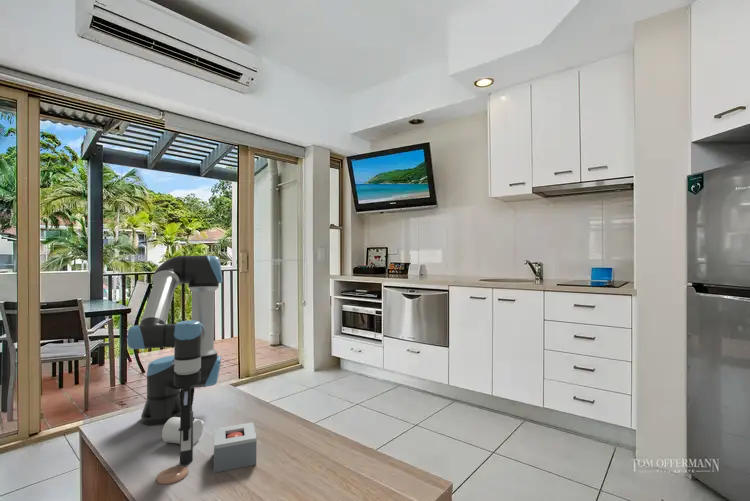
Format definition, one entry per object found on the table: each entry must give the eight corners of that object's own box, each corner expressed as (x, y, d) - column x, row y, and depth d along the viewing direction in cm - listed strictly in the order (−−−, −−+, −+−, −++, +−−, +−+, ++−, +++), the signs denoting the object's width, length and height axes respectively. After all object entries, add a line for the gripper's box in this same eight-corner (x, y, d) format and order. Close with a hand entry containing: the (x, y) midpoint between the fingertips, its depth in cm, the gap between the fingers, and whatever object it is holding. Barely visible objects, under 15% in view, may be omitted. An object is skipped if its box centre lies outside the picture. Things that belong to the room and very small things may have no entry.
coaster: (158, 471, 110) (159, 469, 110) (189, 465, 113) (189, 463, 113) (154, 487, 102) (154, 484, 102) (186, 480, 106) (187, 478, 106)
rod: (180, 459, 116) (180, 411, 117) (192, 457, 118) (193, 409, 118) (179, 465, 113) (179, 416, 113) (192, 463, 114) (192, 414, 115)
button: (226, 443, 118) (226, 433, 118) (242, 440, 120) (242, 430, 120) (227, 449, 114) (227, 440, 114) (242, 446, 116) (243, 437, 116)
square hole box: (214, 453, 120) (214, 428, 120) (252, 446, 125) (253, 422, 125) (213, 473, 109) (214, 445, 109) (256, 464, 114) (256, 438, 114)
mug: (187, 449, 123) (187, 425, 123) (161, 446, 125) (161, 422, 125) (210, 433, 134) (210, 410, 135) (186, 430, 136) (186, 408, 137)
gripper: (176, 365, 122) (175, 437, 122) (170, 380, 107) (169, 462, 106) (201, 363, 125) (200, 433, 125) (199, 377, 110) (198, 457, 109)
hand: (186, 446), depth 115 cm, fingers closed on rod, 3 cm apart
